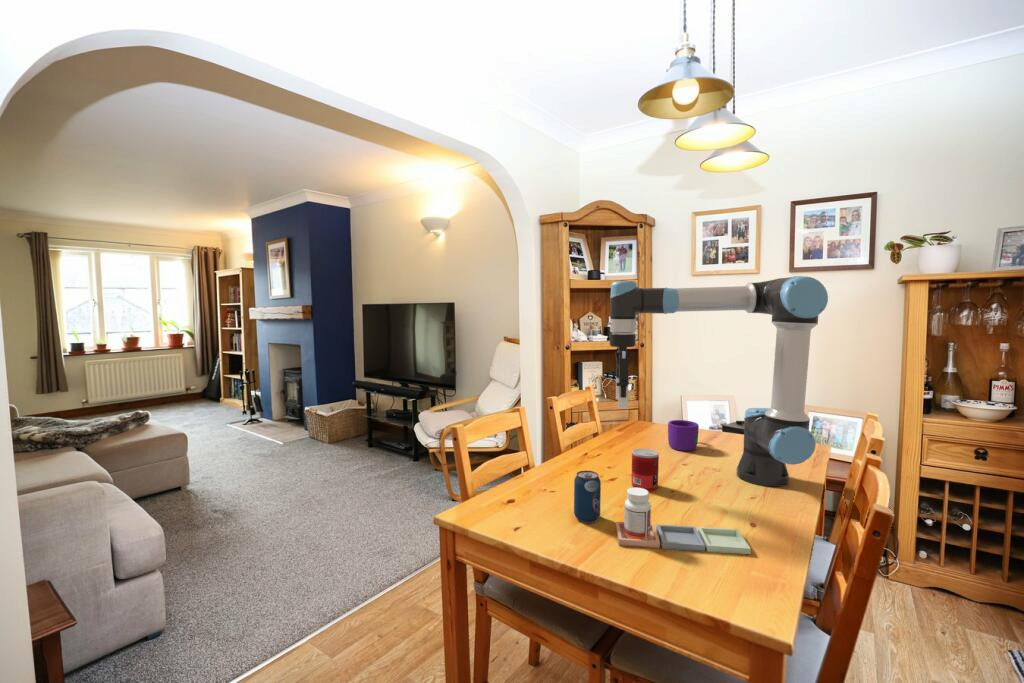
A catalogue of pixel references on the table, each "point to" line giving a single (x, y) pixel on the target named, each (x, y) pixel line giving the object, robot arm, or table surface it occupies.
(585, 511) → the soda can
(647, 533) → the pill bottle
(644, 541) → the dish terracotta
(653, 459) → the canned food
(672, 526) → the dish slate
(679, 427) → the mug
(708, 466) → the table surface
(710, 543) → the dish sage
